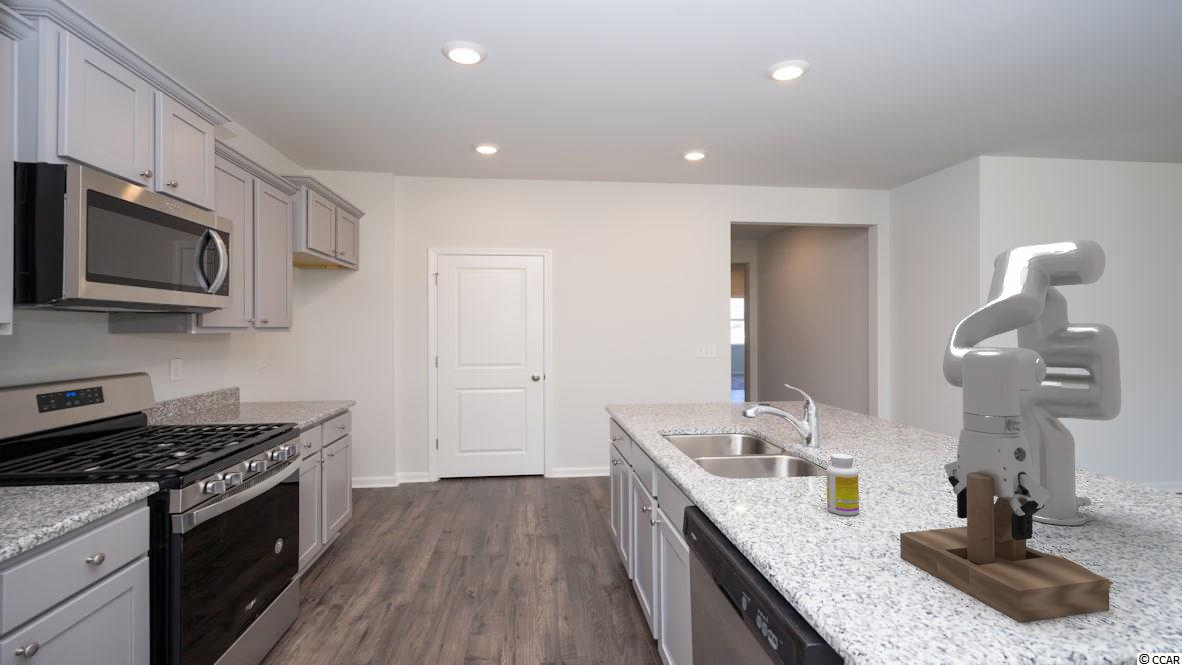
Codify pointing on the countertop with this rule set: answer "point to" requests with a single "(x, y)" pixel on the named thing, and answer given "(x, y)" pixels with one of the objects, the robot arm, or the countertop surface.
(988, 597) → the slotted crossbeam
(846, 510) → the supplement bottle
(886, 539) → the countertop surface
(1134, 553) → the countertop surface
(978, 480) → the wooden block
